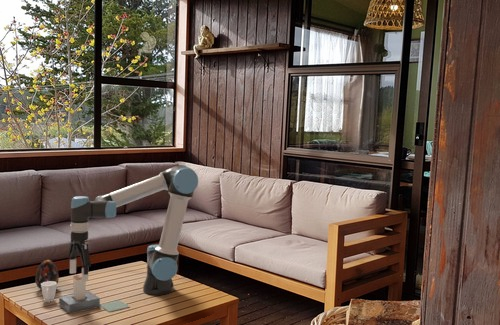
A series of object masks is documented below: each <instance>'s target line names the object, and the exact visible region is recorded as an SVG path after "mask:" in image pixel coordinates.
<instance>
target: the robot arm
mask: <svg viewBox="0 0 500 325" xmlns="http://www.w3.org/2000/svg"><path fill="white" fill-rule="evenodd" d="M198 184H199V177H198V174H197V172H196V171H195V170H194V169H192V168H191V167H189V166H186V165H182V164H178V165H174V166H172V167H170V168H168V169H166V170H163V171H161V172H159V174H158V175H155V176H153V177H150V178H147V179H145V180H142V181H140V182H136V183H134V184H131V185H128V186H126V187H123V188H121V189H118V190H115V191H111V192H110V193H106V194H103V195H98V196H96V197H95V199H94V200H93V201H91V200H90V197H89V196H85V195H84V196H83V195H81V196H80V195H78V196H73V197H72V198H71V205H70V225H69V227H70V243H69V244H70V245H69V250H68V253H67V257H68V259H69V274H71V275H72V274H76V273H77V255H79V257H80V260H81V265H82V266H81V274H82V282H84V281H86V282H88V281H89V268H90V267H92V264H91V263H92V262H91V258H90V251H89V244H88V243H87V244H86V243H85V242H86V241H87V240H88V239H89V227H90V226H89V224H90V221H89V219H93V218H94V219H95V218H97V219H103V218H105V219H110V218H115V217H116V216H117V208H119V207H121V206H123V205H126V204H129V203H131V202H135V201H137V200H140V199H143V198H145V197H148V196H150V195H153V194H156V193H159V192H161V191H163V190H165V191H168V194H169V196H170V198H169V200H168V206H167V210H166V215H165V218H164V223H163V226H162V231H161V235H160V240H159V243H158V244H151V245H148V246H147V250H146V255H147V256H146V258H147V259H146V261H147V262H146V276H145V279H144V284H143V286H142V290H143V291H142V292H144V293H145V294H147V295H153V296H163V295H168V294H170V293H173V291H174V288H175V286H174V281H173V278H174V277H175V276H176V275H177V272H178V268H179V267H178V258H179V254H180V252H179V251H178V246H179V242H180V241H179V240H180V237H181V233H182V228H183V224H184V221H185V220H184V219H185V216H186V212H187V208H188V203H189V200H191V199H192V198H193V197H194V193H195V190H196V189H197V187H198Z"/></svg>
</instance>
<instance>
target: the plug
mask: <svg viewBox="0 0 500 325" xmlns="http://www.w3.org/2000/svg"><path fill="white" fill-rule="evenodd" d="M86 282H87V281H84V282H82V273H81V274H76V275H73V292H72V294H73V299H74V300H76V301H77V300H82V299H86V291H87V290H86V286H87V285H86Z"/></svg>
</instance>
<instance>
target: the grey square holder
mask: <svg viewBox="0 0 500 325" xmlns="http://www.w3.org/2000/svg"><path fill="white" fill-rule="evenodd" d="M100 303H101V298H100V297H99V296H97V295H96V294H95V293H93V292H91V291H90V290H88V291H87V290H86V299H82V300H77V301H76V300H74V299H73V293H72V294H67V295H62V296H59V298H58V305H59V307H60V306H61V307H60V308H62V310H64V311H65V312H67V313H68V314H74V313H79V312H83V311H87V310H92V309H96V308H100V307H101V306H100Z"/></svg>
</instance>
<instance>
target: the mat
mask: <svg viewBox="0 0 500 325" xmlns="http://www.w3.org/2000/svg"><path fill="white" fill-rule="evenodd" d="M100 307H101V308H102V309H103V310H105V311H106V312H108V313H112V312H115V311H121V310H123V309H124V310H125V309H128V308H130V306H129V305H128V304H126V303H125V302H123V301H121V300H120V299H118V300H114V301H110V302H105V303H101V304H100Z"/></svg>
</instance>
